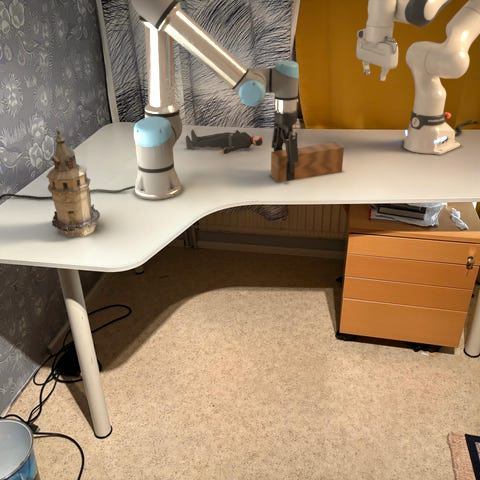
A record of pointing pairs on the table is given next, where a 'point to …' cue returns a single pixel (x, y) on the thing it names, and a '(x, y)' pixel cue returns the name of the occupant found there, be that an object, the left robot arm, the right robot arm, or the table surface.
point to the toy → (224, 141)
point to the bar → (309, 161)
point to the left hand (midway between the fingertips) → (284, 174)
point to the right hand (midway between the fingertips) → (374, 77)
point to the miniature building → (70, 193)
